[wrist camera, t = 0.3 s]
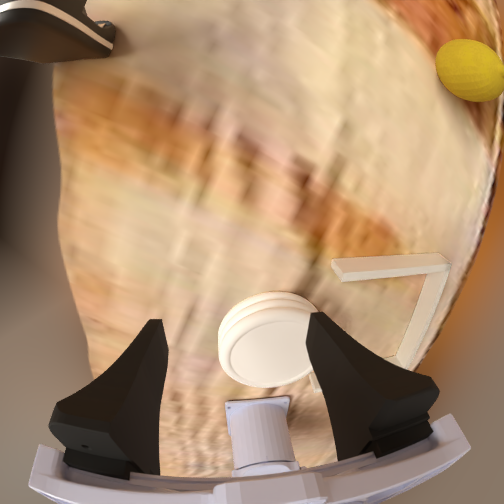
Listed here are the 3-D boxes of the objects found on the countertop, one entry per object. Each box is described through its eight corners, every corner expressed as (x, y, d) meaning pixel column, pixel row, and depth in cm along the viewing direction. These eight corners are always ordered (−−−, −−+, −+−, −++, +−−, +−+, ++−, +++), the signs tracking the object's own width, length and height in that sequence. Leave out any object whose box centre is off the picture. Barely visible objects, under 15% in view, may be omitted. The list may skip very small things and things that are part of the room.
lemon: (455, 109, 18) (519, 118, 11) (415, 83, 17) (484, 82, 10) (460, 62, 16) (520, 61, 9) (420, 34, 15) (483, 20, 8)
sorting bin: (398, 358, 31) (406, 371, 29) (308, 376, 30) (314, 392, 28) (437, 252, 25) (452, 263, 22) (332, 258, 23) (343, 273, 21)
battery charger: (126, 15, 13) (56, -54, 3) (113, 58, 14) (21, 15, 4) (53, 24, 11) (-34, -8, 1) (41, 65, 13) (-59, 53, 3)
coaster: (339, 315, 27) (351, 338, 23) (277, 374, 29) (283, 398, 26) (259, 269, 23) (266, 293, 20) (199, 343, 26) (197, 370, 23)
